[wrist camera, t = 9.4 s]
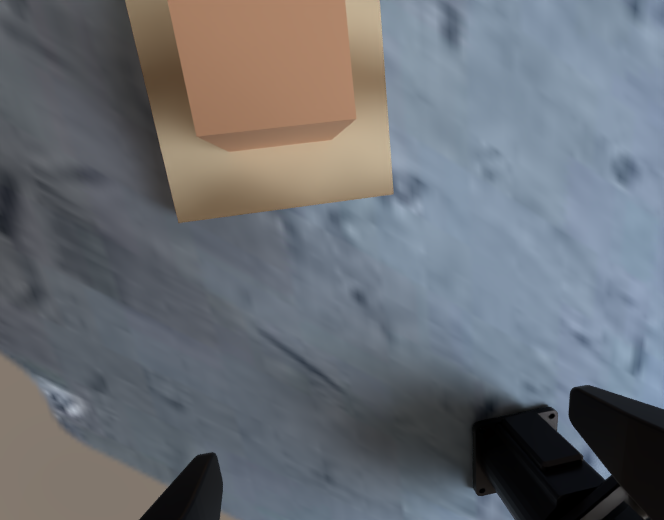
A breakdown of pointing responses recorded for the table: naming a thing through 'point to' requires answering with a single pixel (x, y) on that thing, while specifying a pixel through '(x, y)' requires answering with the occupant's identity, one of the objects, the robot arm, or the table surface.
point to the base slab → (272, 162)
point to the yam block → (265, 70)
